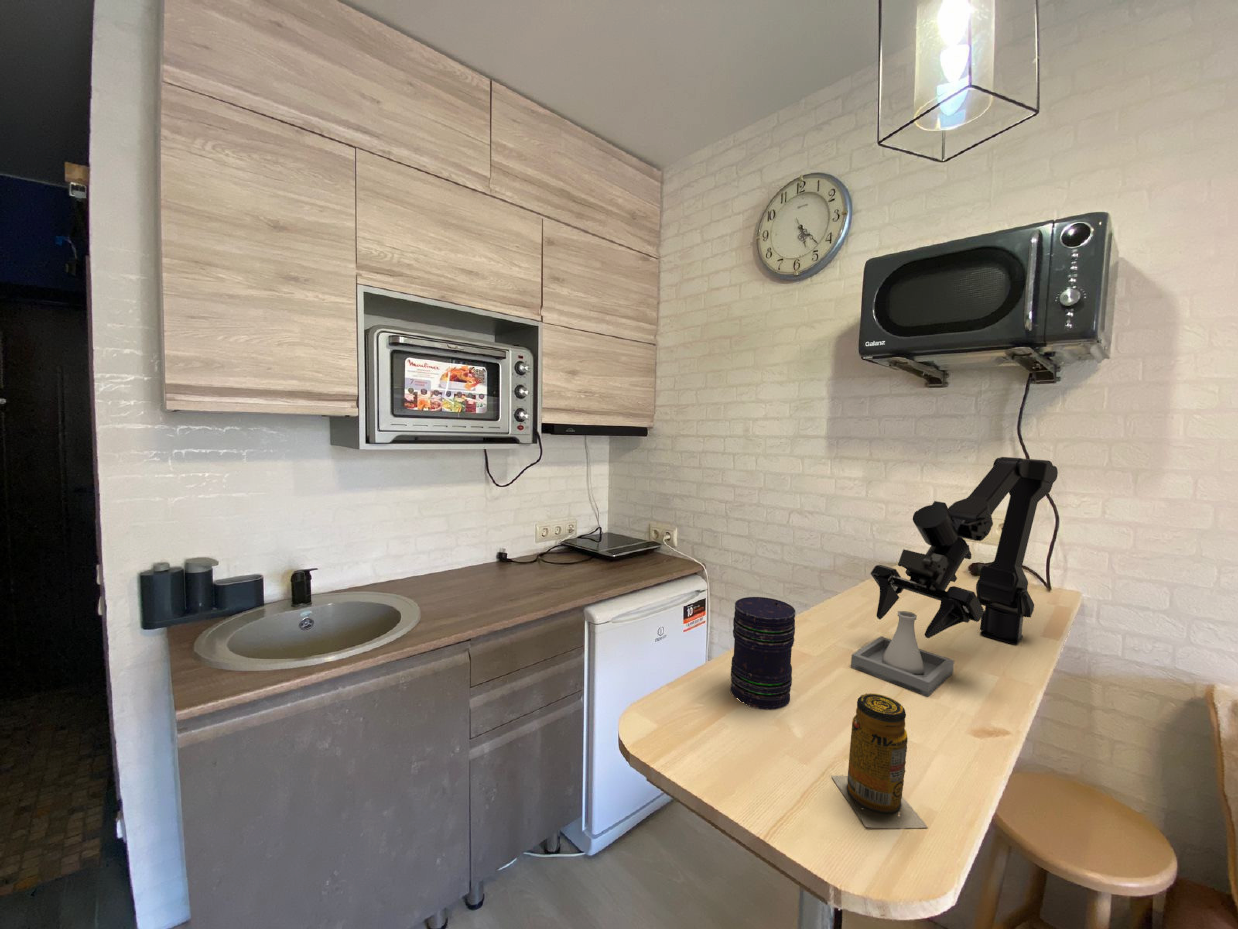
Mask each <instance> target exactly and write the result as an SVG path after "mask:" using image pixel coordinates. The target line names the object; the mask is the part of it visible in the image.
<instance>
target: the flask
mask: <svg viewBox="0 0 1238 929" xmlns="http://www.w3.org/2000/svg"><path fill="white" fill-rule="evenodd" d="M897 617H898V622H897V627H896V630H895V632H894V634H893V636H892V638H891V642H890V644H889V646H888V647H887V649H886V651H885V653H884V655H883V658H882V663H884V664H886V665H889V666H891V667H894V668H897V669H900V670H903V671H905V672H908V673H911V674H922V673H924V664H923V661H922V658H921V654H920V651H919V649H920V647H919V645H918V641H917V638H916V632H915V631H916V630H915V621H916V620H917V614H916V613H913V612H911V611H906V610H897Z"/></svg>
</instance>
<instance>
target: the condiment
mask: <svg viewBox="0 0 1238 929" xmlns="http://www.w3.org/2000/svg"><path fill="white" fill-rule="evenodd" d="M906 717H907V714H906V710H905V708H904V706H903V705H902V704H901V703H899V702H898V701H897V700H895V699H894V698H892V697H888V696H887V695H882V694H880V693H879V694H878V693H867V692H866V693H865V694H862V695H860V696H859V697H858V698H857V701H856V709H855V715H854V716H853V718H852V721H851V730H850V731H851V733H850V734H851V735H850V743H849V744H850V745H849V754H848V755H849V756H848V768H847V775H831V778H832V779H833V781H834V782H835V784H836V786H837V788H839V790H840V792H841V793H842V795H843V796H844V798H845V799H846V800H847V803H849V804H850V805H851V807H852V809H853V810H854V813H855V814H856V815H857V817H858V818H859V819H860V820H861V822H862V823H863V825H864V827H865V828H874V829H901V830H903V829H919V828H922V829H923V828H928V825H927V824H926V823H925V821H924V820H923V818H921V817H920V815H919V813H918V812H916V811H915V809H914V808H913V807H912V806H911V804H910V803H909V802H908V801H907V800H906V799H905V798H904V797H903V790H904V783H905V773H906V764H907V761H906V760H907V752H908V740H909V738H908V733H907V730H906Z"/></svg>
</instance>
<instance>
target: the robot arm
mask: <svg viewBox="0 0 1238 929" xmlns="http://www.w3.org/2000/svg"><path fill="white" fill-rule="evenodd" d="M1058 470H1059V469H1058V468H1057V466H1055V465H1054V464H1053V463H1052V462H1051V460H1048V459H1047V460H1045V459H1034V458H1023V457H1022V458H1021V457H1009V456H1000V457H997V458H995V460H994V461H993V466H992V467H991V468H990V470H989V471H988V472H987V474H986V475H985V476H984V477H983V478H982V479H981V481H979V484H977V486H976V487H975V488H974V489H973V490H972V492H971V493H970V494H969V495H968V496H967V497H966V498H963V499H959V500H958V501H954V502H953V503H952V504H951V505H950V506H949V507H948V505H947V503H946V502H943V501H938V500H934V501H933V503H932V504H931V505H926V506H923V507H921V508H919V509H918V510H915V512H914V514H913V515H912V522H913V523H914V525H915V527H916V529H917V530H918V533H919V534H920V536H921V537H922V539H923V541H924V542H925V543H926V544H927V545H929V546H930V547H929V548H928V550H927V551H926V553H922V552H921V553H920V552H917V551H912V550H908V549H904V548H903V549H902V551H901V554H900V557H899V560H898V563H897V566H898V567H902V568H904V569H905V572H904V573H905V574H906V575H907V577H910V579H906V578H903V577H901V575H900V573H899V572H898V570H897V569H896V568H893V567H889V566H886V565H883V564H877V565H875V566H874V567H873V568H872V570H871V571H870V575H871V577H872V578H873V579H874V581H875V583H876V584H877V585H878V587H879V598H878V605H877V610H876V618H877V619H878V620H882V618H884V617H885V616H886V615H887V614H888V612H889V611H890V610H891V609H892V607H893V606H894V605H895V604H896V603H897V601H899V599H900V596H899V595H898V594H901V593H902V592H903V591H904V590H906V591H908V592H912V593H915V594H919V595H922V596H924V597H925V596H926V597H928V598H931V599H934V600H937V601H940V606H939V609H938V610H937V612H936V614H934V616H933V618H932V619H931V621H930V622H929V624H928V625H927V627H926V630H925V631H924V637H925V638H926V639H930V638H932V637H934V636H936V635H937V634H939V633H941V632H943V631H945V630H947V629H949V628H951V627H954V626H956V625H959V624H961V623H967V624H968V623H969V622H971V621H973V622H977V623H978V622H980V625H979V630H980V636H982V637H986V638H989V639H993V640H996V641H1000V642H1004V643H1006V644H1007V643H1008V644H1010V645H1012V646H1013V645H1014V646H1016V645H1018V644H1020V642H1021V641H1022V639H1024V635H1023V633H1022V632H1023V622H1024V618H1032V615H1033V612H1034V610H1035V603H1034V601H1033V599H1032V597H1031V595H1030V593H1029V591H1028V587H1029V580H1028V578H1027V576H1026V574H1025V572H1024V569H1023V565H1024V564H1023V563H1024V560H1025V557H1026V556H1025V555H1026V552H1027V548H1028V544H1029V541H1030V540H1029V539H1030V536H1031V531H1032V527H1033V523H1034V520H1035V516H1036V515H1035V514H1036V511H1037V506H1038V503H1039V502H1040V501H1041V500H1043V498H1044V497H1046V496H1047V495H1048V494H1050V492H1051V491H1052V488H1053V485H1054V483H1055V482H1056V480H1057V478H1058V474H1059V472H1058ZM1008 494H1009V500H1008V504H1007V508H1006V512H1005V517H1004V520H1003V524H1002V528H1001V533H1000V535H999V541H998V544H997V549H996V553H995V557H994V560H993V561H992V562H991V563H990V564H988V565H987V566H986V565H983V566H982V567H981V569H980V574H979V577H978V580H977V582H976V585H975V591H976V592H974V591H972V590H969V589H965V588H961V587H960V586H955V585H953V586H949V585H950V584H951V582H953V583H955V582H956V581H957V579H958V577H957V575H956V573H957V572H958V570H959V568H960V566H961V565H962V563H963V561H964V560H965V559H966V560H971V559H972V553H971V551H970V545H969V544H968V543H967V541H966V539H967V540H970V541H974V542H981V541H983V540H984V539H985V538H986V537H988V535H989V534H990V533H991V530H992V527H993V525H994V522H993V517H992V516H993V514H994V512H995V511H996V509H997V508H998V507H999V505H1000V504H1001V503H1002V501H1004V499H1005V497H1006V496H1007V495H1008ZM946 589H947V590H946ZM983 606H984V607H985V608H984V607H983Z"/></svg>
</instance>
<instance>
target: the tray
mask: <svg viewBox="0 0 1238 929" xmlns="http://www.w3.org/2000/svg"><path fill="white" fill-rule="evenodd" d="M891 640H892V638H891V639H890V638H887V637H884V636H879V637H877V638H875V639H874V640H872V641H871V642H870V643H868V644H866V645H864V646H863V647H861V648H860V649H858V650H856V651H855V652H853V653H852V654H851V660H850V668H852V669H854V670H857V671H859V672H862V673H865V674H867V675H870V676H872V677H875V678H877V679H881V680H882V681H885V682H888V683H890V684H893V685H896V686H898V687H901V688H903V689H906V690H909V691H911V692H914V693H917V694H919V695H921V696H925V697H926V698H928V697H929V696H930V695H931V694H933V693H934V692H935V691H936V690H937V689H938V688H939V687H940V686H941V685H942V684H943V683H944V682H945V681H946V680H947V679H948V678H950V677H951V675H952V674H953V673H954V664H955V663H954V662H955V659H951V658H949V657H946V656H942V655H939V654H937V653H933V652H931V651H928V650H924V649H921V648H919V651H920V654H921V658H922V661H923V664H924V673H922V674H911V673H908V672H905V671H903V670H900V669H897V668H894V667H891V666H889V665H886V664H884V663H882V658H883V655H884V653H885V651H886V649H887V647H888V646H889V644H890V642H891Z"/></svg>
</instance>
